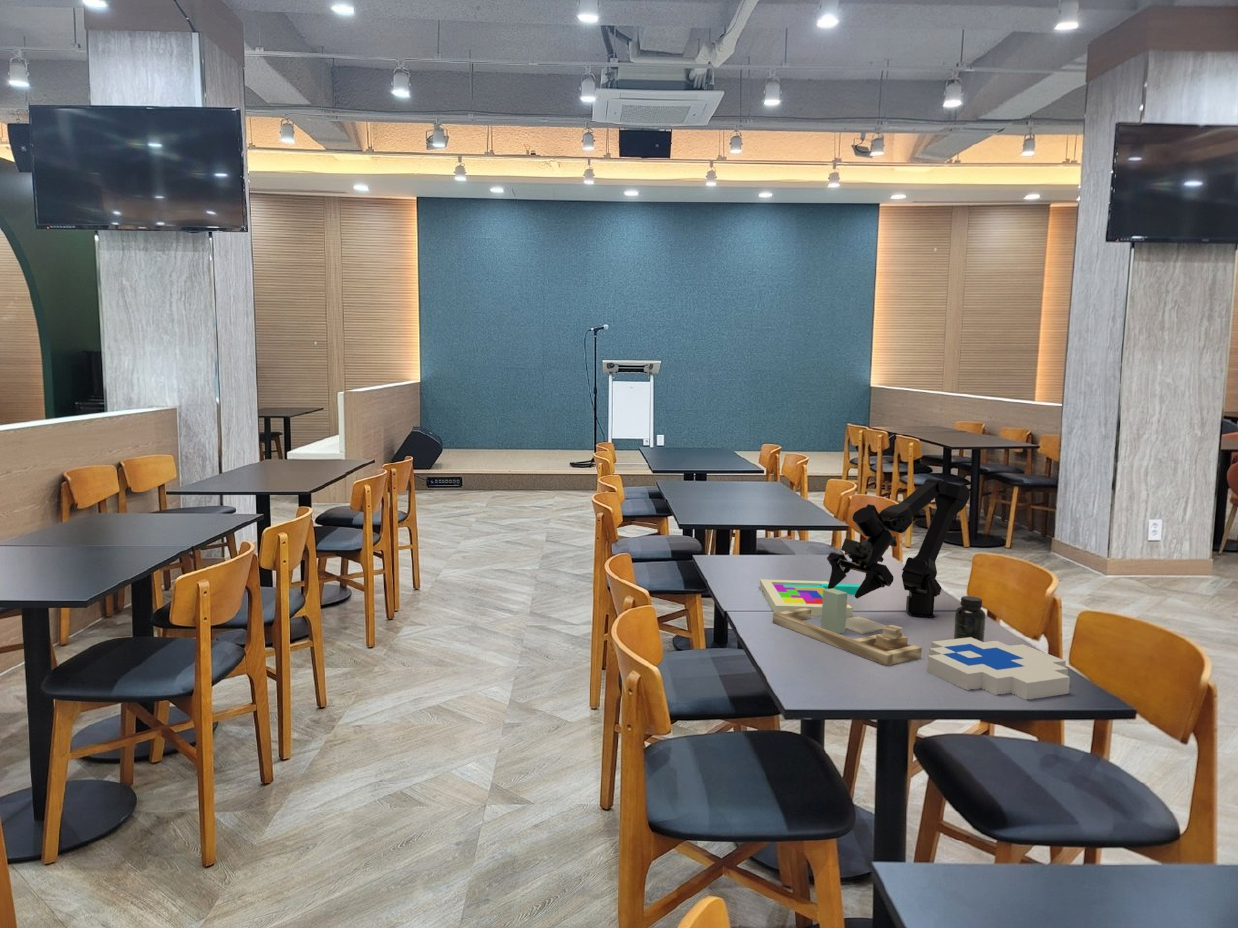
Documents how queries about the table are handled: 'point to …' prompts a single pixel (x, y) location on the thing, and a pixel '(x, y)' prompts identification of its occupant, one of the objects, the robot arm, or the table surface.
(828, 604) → the tall green pillar
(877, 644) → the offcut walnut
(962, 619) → the supplement bottle
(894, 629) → the offcut maple
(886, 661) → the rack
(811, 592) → the puzzle game
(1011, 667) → the pixel art tile
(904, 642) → the offcut oak
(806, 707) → the table surface
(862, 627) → the mat
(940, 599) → the table surface
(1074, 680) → the table surface
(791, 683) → the table surface
